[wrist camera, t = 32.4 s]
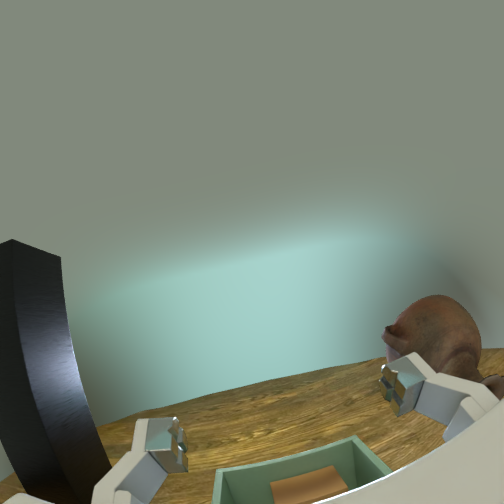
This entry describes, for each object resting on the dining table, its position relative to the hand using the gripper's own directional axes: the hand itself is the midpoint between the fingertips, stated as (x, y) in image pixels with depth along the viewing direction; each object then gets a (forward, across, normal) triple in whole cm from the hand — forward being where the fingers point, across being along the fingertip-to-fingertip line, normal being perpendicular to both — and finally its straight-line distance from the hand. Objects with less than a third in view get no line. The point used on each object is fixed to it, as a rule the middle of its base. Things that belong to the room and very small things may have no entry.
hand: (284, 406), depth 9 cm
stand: (0, +24, +26) cm, 36 cm away
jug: (+14, -33, +34) cm, 49 cm away
